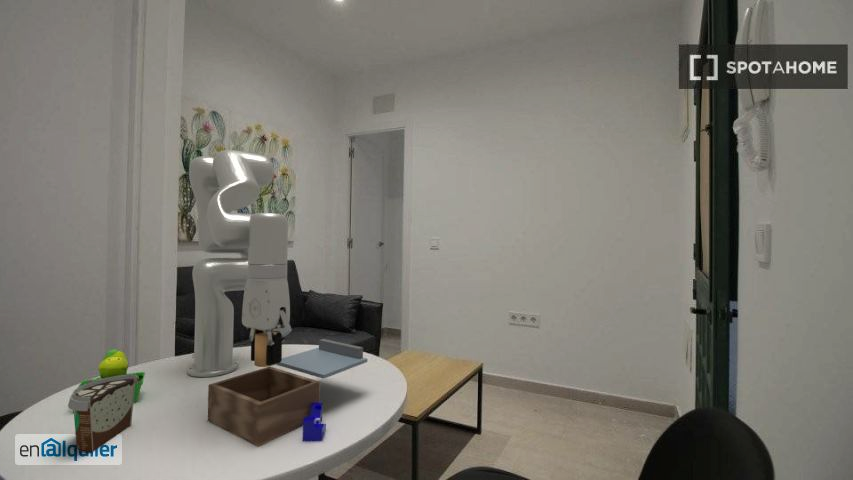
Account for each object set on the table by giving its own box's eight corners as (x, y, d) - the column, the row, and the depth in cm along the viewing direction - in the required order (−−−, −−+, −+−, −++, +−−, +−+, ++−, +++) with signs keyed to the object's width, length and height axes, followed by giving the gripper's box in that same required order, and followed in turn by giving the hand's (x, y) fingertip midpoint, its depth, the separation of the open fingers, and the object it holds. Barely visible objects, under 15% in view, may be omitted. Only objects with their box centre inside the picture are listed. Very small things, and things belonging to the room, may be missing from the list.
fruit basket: (73, 416, 77) (74, 361, 77) (82, 401, 85) (84, 351, 85) (142, 404, 83) (143, 353, 84) (145, 391, 91) (146, 344, 91)
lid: (273, 363, 89) (273, 349, 89) (319, 350, 100) (319, 338, 101) (323, 378, 80) (323, 363, 80) (367, 361, 91) (367, 348, 91)
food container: (103, 424, 74) (104, 373, 74) (136, 423, 75) (137, 373, 75) (45, 460, 62) (47, 399, 62) (85, 459, 62) (87, 398, 62)
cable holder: (321, 442, 69) (322, 420, 69) (302, 442, 69) (303, 420, 69) (329, 421, 77) (330, 402, 77) (312, 422, 77) (312, 402, 77)
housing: (207, 421, 76) (208, 384, 76) (268, 398, 88) (269, 366, 88) (258, 447, 67) (259, 405, 67) (319, 417, 79) (319, 381, 79)
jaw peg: (249, 364, 77) (250, 334, 77) (268, 359, 80) (269, 330, 80) (263, 368, 74) (263, 337, 74) (282, 362, 78) (282, 333, 78)
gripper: (227, 272, 79) (225, 359, 79) (277, 276, 70) (276, 374, 70) (259, 270, 85) (258, 351, 85) (309, 273, 76) (308, 364, 76)
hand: (266, 360), depth 77 cm, fingers closed on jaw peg, 4 cm apart
